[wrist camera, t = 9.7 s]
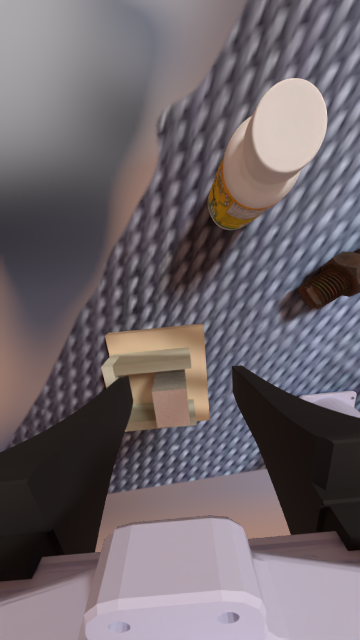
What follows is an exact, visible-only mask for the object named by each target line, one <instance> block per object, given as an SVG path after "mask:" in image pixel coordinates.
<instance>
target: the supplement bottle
mask: <svg viewBox="0 0 360 640" xmlns="http://www.w3.org/2000/svg"><path fill="white" fill-rule="evenodd" d="M326 127H327V110H326V106H325V102H324V99H323V97H322V95H321V93H320V92H319V91H318V89H317V88H316V87H315V86H314V85H313V84H311V83H310V82H308V81H306V80H303V79H299V78H291V79H287V80H283V81H281V82H279V83H277V84H276V85H274V86H273V87H272V88H271V89H270V90H269V91H268V92H267V93H266V94H265V95H264V96H263V98H262V99H261V101H260V102H259V104H258V106H257V108H256V110H255V112H254V114H253V116H251V117H249V118H248V119H247V120H246V121H244V122H243V123H242V124H241V125H240V126H239V127H238V129H237V130H236V131H235V133H234V134H233V136H232V138H231V140H230V142H229V144H228V146H227V149H226V151H225V153H224V156H223V158H222V161H221V164H220V166H219V169H218V172H217V174H216V177H215V179H214V182H213V184H212V187H211V190H210V193H209V197H208V209H209V212H210V215H211V218H212V219H213V221H214V222H215V224H216V225H217V226H219V227H220V228H222V229H225V230H237V229H240V228H242V227H244V226H246V225H247V224H249V223H250V222H251V221H253V220H254V219H256V218H257V217H258V216H260V215H261V214H262V213H264V212H265V211H266V210H268V209H269V208H270V207H272V206H273V205H275V204H276V203H277V202H278V201H280V200H281V199H282V198H283V197H284V196H285V195H286V194H287V193H288V192H289V191H290V190H291V189H292V187H293V186H294V184H295V182H296V181H297V179H298V176H299V174H300V172H301V169H302V168H303V167H305V166H306V165H307V164H308V163H309V162H310V161H311V160H312V159H313V157H314V156H315V155H316V153H317V152H318V150H319V148H320V146H321V144H322V142H323V139H324V136H325V133H326Z"/></svg>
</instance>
